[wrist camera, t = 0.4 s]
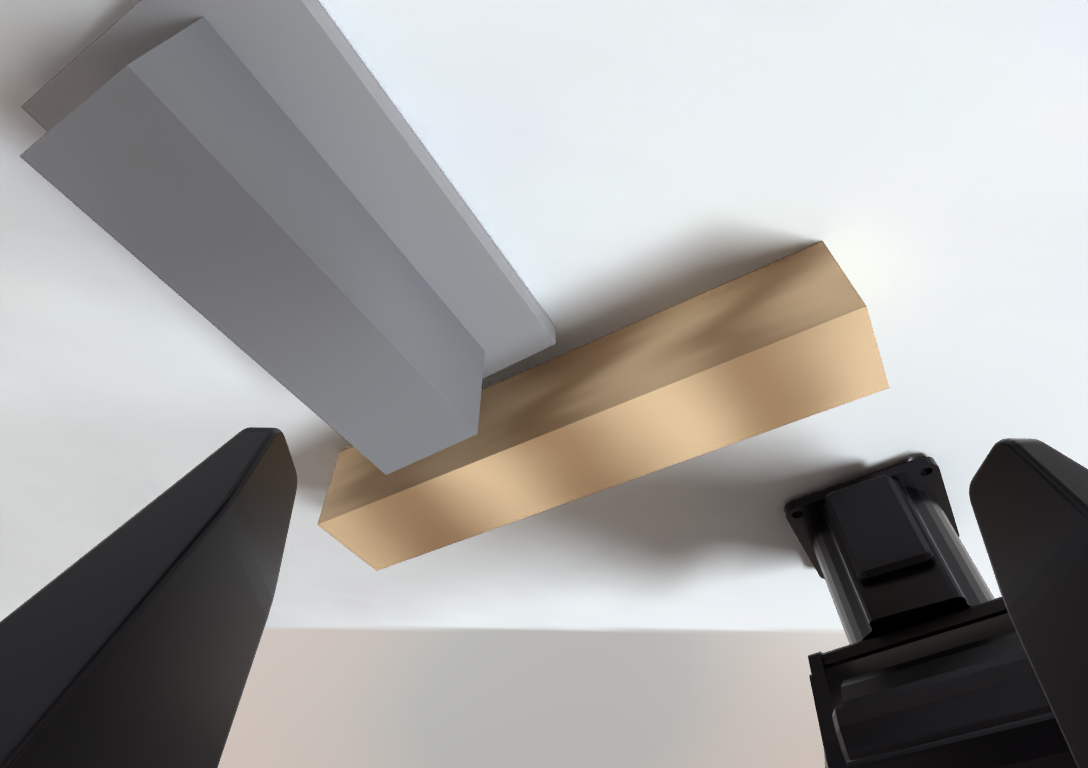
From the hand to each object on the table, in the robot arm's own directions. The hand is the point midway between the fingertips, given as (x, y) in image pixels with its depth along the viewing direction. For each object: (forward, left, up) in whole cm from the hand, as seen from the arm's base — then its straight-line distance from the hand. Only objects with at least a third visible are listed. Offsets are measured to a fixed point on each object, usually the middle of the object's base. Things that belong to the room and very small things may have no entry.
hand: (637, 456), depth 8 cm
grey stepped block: (+1, +8, -13) cm, 16 cm away
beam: (-9, +5, -14) cm, 17 cm away
